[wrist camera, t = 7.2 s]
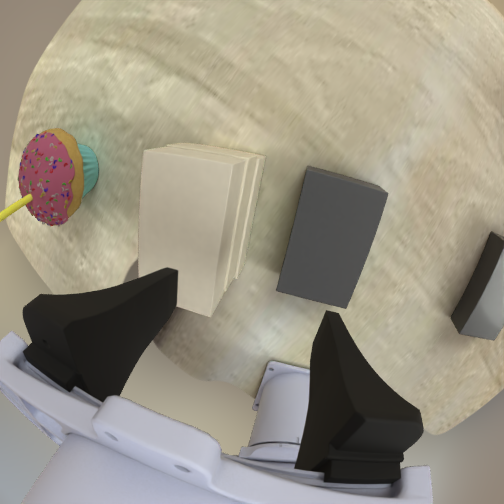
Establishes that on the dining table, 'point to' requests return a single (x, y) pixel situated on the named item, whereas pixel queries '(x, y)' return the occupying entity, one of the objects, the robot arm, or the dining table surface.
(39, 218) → the cupcake
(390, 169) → the dining table surface
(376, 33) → the dining table surface
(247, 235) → the cream stack
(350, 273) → the grey book
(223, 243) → the cream book
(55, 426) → the robot arm
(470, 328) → the grey book
